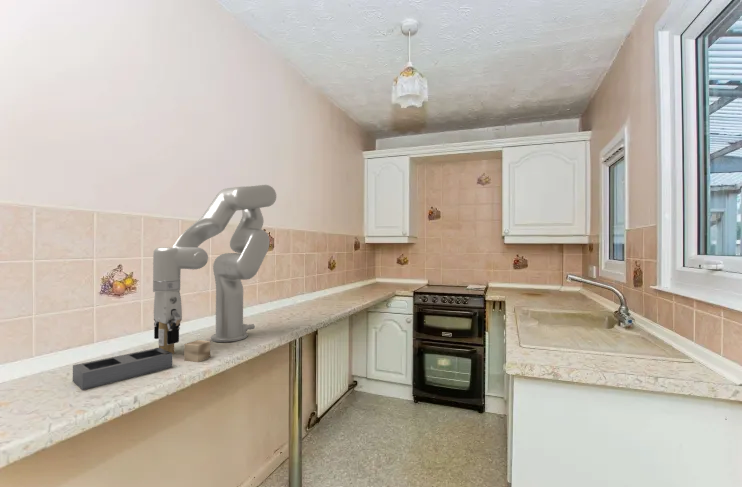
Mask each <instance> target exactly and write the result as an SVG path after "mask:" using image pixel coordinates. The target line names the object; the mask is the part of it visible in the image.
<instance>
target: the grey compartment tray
mask: <svg viewBox="0 0 742 487" xmlns="http://www.w3.org/2000/svg"><path fill="white" fill-rule="evenodd" d="M171 368H173V354H172V353H171V352H169V351H166V350H164V349H162V348H159V347H155V348H150V349H145V350H140V351H136V352H131V353H126V354H122V355H115V356H112V357H107V358H103V359H102V358H101V359H97V360H93V361H92V360H91V361H88V362H82V363H77V364H72V382H73V383H74V384H75V385H76V386H77V387H79V389H80V390H81V391H85V390H88V389H92V388H96V387H100V386H104V385H109V384H113V383H117V382H120V381H124V380H129V379H131V378H132V379H133V378H136V377H139V376H144V375H147V374H148V375H149V374H152V373H156V372H160V371H163V370H167V369H171Z"/></svg>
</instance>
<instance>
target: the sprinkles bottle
mask: <svg viewBox="0 0 742 487" xmlns="http://www.w3.org/2000/svg"><path fill="white" fill-rule="evenodd" d="M158 319H160V318H158ZM171 326H172V324H171ZM167 331H169V329H168V326H167V324H164V323H161V322H160V321H159V339H158V348H162V349H164V350H166V351H169V352H171V353H172V355H174V354H176V353H175V343H173V344H167Z"/></svg>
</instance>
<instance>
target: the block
mask: <svg viewBox="0 0 742 487" xmlns="http://www.w3.org/2000/svg"><path fill="white" fill-rule="evenodd" d="M183 348H184V349H183V350H184V352H183V353H184V354H183V355H184V356H183V357H184V358H183V360H184V362H192V363H199V362H202V361H206V360H207V359H209V358H211V341H210V340H200V339H197V340H194V341H190V342H188V343H185V344H184V346H183Z"/></svg>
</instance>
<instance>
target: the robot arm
mask: <svg viewBox="0 0 742 487" xmlns="http://www.w3.org/2000/svg"><path fill="white" fill-rule="evenodd" d="M276 200H277V192H276V190H275V189H274V188H273V186H271V185H269V184H261V185H260V184H259V185H250V186H249V185H248V186H235V187H234V186H233V187H227V188H223V189H221V190H220V191H219V192H218V193H217V194H216V195H215V197H214V198H213V200H212V201H211V203H210V204H209V205H208V208H207V209H206V210H205V211H204V213H203V214H202V216H201V217H200V218H199V219H198V220H196V221H195V222H194V223H193V224H191V225H190V226H189V227H188V228H187V229H186V230H185V231H184V232H182V233H181V234H180V235H179V237H178V238H177V240H176V241H175V242H174V244H173V245H172V247H156V248H155V249H154V250H153V255H152V257H153V258H152V259H153V260H152V261H153V262H152V265H153V267H152V293H154V297H153V298H154V299H153V320H154V323H153V326H154V328H153V330H154V331H153V332H154V333H153V337H154V338H153V339H155V340H159V321H160V322H161V323H164V324H167V326H168V329H169V331H167V344H173V343H174V344H177V343H179V342H180V330H181V327H180V326H181V322H182V321H183V314H182V313H183V312H182V311H183V309H182V298H181V297H182V296H181V276H182V275H181V270H192V271H193V270H198V269H199V270H200V269H203V267H206V265H207V263H208V261H209V255H208V253H207V251H206V250H205V249H203V248H201V247H199V246H201V244H203V243H204V242H206V241H207V240H209V239H212V238H213V237H216V236H217V235H220V234H221V233H222V232H223V231H225V229H226V227H227V225H229V222H230V221H231V219H232V218H233V216H234V215H235V213H236V211H241V212H242V214H241V215H242V217H241V218H240V221H239V223H238V225H237V227H236V229H235V230H234V232H233V234H232V236H231V237H230V241H229V248H230V249H231V250H232V252H226V253H222V254H220V255H218V256H217V257H216V258H215V260H214V261H213V265H212V267H213V268H212V269H213V275H214V276H213V277H214V282H215V333H214V334H212V335H211V336H210V340H211V341H213V342H215V343H229V342H237V341H241V340H245V339H247V337H248V332H247V331H248V330H254V329H255V327H256V326H255V324H254V323H250V324H247V323H246V324H245V323H244V287H243V286H244V285H243V282H242V280H243V281H244V280H245V281H247V280H250V279H252V278H253V277H255V276H256V275H257V273H258V272H259V269H260V268H261V265H262V263H263V262H264V259H265V257H266V256H267V253H268V251H269V248H270V237H269V236H270V235H269V234H268V233H267V232H266V231H265V230H264V229H262V228H263V226H264V216H263V212H262V211H261V209H262V208H268V207H271V206H273V205H274V204H275V202H276ZM158 318H160V319H158ZM171 324H172V326H171Z"/></svg>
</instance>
